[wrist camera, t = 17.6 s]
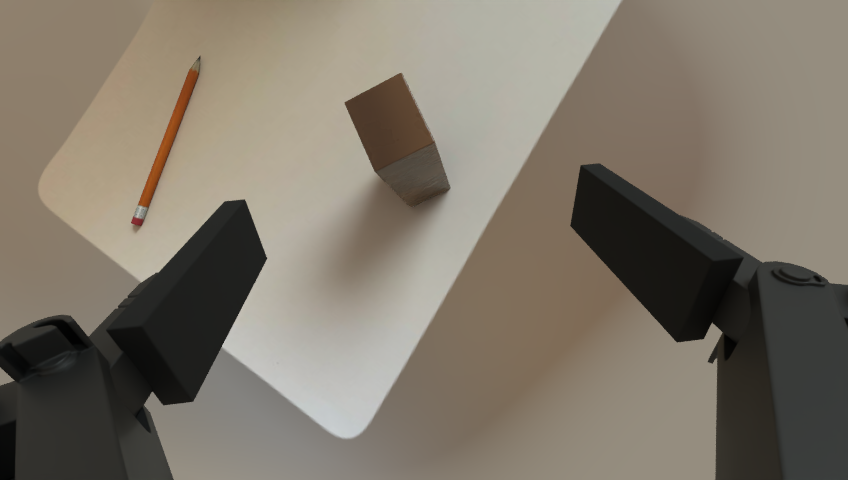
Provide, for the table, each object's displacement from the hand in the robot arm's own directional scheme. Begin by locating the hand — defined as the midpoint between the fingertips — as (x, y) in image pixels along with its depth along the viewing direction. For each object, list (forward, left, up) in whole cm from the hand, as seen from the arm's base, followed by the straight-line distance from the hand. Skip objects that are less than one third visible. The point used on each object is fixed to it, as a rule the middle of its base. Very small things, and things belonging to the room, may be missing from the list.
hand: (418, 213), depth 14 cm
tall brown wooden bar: (+6, -5, -17) cm, 19 cm away
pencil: (+31, +2, -17) cm, 36 cm away
